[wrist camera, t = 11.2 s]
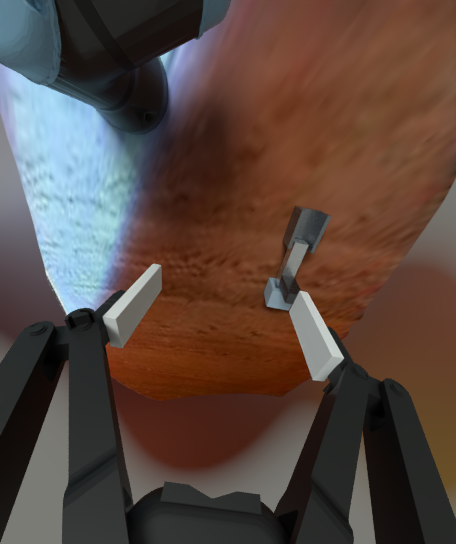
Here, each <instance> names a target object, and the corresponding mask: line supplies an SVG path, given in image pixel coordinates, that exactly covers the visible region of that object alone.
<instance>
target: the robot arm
mask: <svg viewBox="0 0 456 544" xmlns="http://www.w3.org/2000/svg"><path fill="white" fill-rule="evenodd" d="M230 2H231V0H0V63H1V64H3V65H4V66H6V67H8V68H10V69H12V70H14V71H16V72H18V73H20V74H22V75H23V76H24V77H26V78H27V79H29V80H30V81H32V82H34V83H36V84H39V85H44V86H46V87H49V88H51V89H53V90H56V91H58V92H60V93H63V94H65V95H68V96H70V97H72V98H75V99H77V100H79V101H82V102H84V103H86V104H88V105H91V106H93V107H94V108H95V109H96V110H97V111H98V112H99V113H100V114H101V115H102V116H103V117H104V118H105V119H106V120H107V121H108V122H109V123H111V124H112V125H113V126H115V127H117V128H119V129H121V130H123V131H126V132H129V133H132V134H145V133H148V132H150V131H152V130H153V129H154V128H155V127H157V125H158V124H159V123H160V121H161V120H162V118H163V116H164V113H165V110H166V106H167V99H168V86H167V79H166V74H165V70H164V66H163V64H162V61H161V58H160V56H161V55H163V54H165V53H167V52H169V51H171V50H173V49H175V48H177V47H178V46H180V45H182V44H184V43H186V42H188V41H190V40H192V39H194V38H195V39H196V40H197V39H200V37H201V36H202V35H203V33H204V32H206V31H207V30H209V29H211V28H212V27H214V26H215V25H217V24H219V23H220V22H221V21H222V20H223V19H224V17H225V15H226V13H227V11H228V9H229V6H230ZM161 290H162V274H161V265H158V264H152V265H151V266H150V267H149V268H148V269H147V270H146V271H145V273H144V274H143V275H142V276H141V277H140V278H139V279H138V280H137V281H136V282H135V283H134V284H133V285H132V286H131V287H130V288H129V289H128V290H127V291H123V290H120V291H118V292H116V293H114V294H113V295H112V296H111V297H110V298H109V299H108V300H107V301H105V303H103V304H102V305H101V306H100V307H99V308H98V309H97V310H96V311H95V312H94V310H92V309H90V308H82V309H78V310H75V311H73V312H71V313H69V314H68V315H67V316H66V318H65V322H66V324H67V326H60V327H55V326H54V324H53V323H52V322H49V321H42V322H38V323H35V324H32V325H30V326H29V327H27V328H25V329H24V330H23V331H22V332H21V333H20V335H19V336H18V338H17V339H16V341H15V342H14V344H13V345H12V347H11V348H10V350H9V351H8V353H7V354H6V356H5V358H4V359H3V360H2V362H1V363H0V542H1V539H2V536H3V533H4V531H5V528H6V525H7V522H8V520H9V517H10V514H11V511H12V508H13V506H14V503H15V500H16V497H17V495H18V492H19V489H20V486H21V483H22V481H23V478H24V475H25V472H26V470H27V467H28V464H29V461H30V458H31V455H32V453H33V450H34V447H35V444H36V442H37V439H38V436H39V433H40V431H41V428H42V425H43V422H44V420H45V417H46V414H47V411H48V408H49V405H50V403H51V400H52V397H53V395H54V392H55V389H56V386H57V383H58V381H59V378H60V375H61V372H62V370H63V367H64V364H65V361H66V360H69V481H68V486H67V489H66V491H65V494H64V499H63V519H62V520H63V521H62V522H63V523H62V544H353V542H354V537H353V531H352V528H351V526H350V525H349V520H348V519H349V510H350V504H351V498H352V492H353V485H354V480H355V473H356V467H357V461H358V454H359V448H360V442H361V436H362V430H363V437H364V445H365V454H366V462H367V471H368V479H369V488H370V497H371V506H372V514H373V523H374V530H375V531H374V532H375V540H376V544H456V518H455V516H454V513H453V511H452V508H451V505H450V502H449V499H448V497H447V494H446V491H445V489H444V486H443V483H442V480H441V478H440V475H439V472H438V470H437V467H436V464H435V461H434V459H433V456H432V454H431V451H430V448H429V445H428V443H427V440H426V437H425V434H424V432H423V429H422V426H421V424H420V421H419V418H418V415H417V413H416V410H415V407H414V405H413V402H412V399H411V397H410V395H409V393H408V392H407V390H406V389H405V388H404V387H403V386H402V385H400V384H399V383H398V382H396V381H394V380H392V379H388V378H386V379H385V380H384V381H382V382H381V381H379V380H377V379H374V378H373V377H370V376H369V375H368V373H367V372H366V371H365V370H364V369H363V368H362V367H361V366H359V365H358V364H356V363H354V362H353V360H352V359H351V357H350V355H349V354H348V352H347V350H346V349H345V347H344V345H343V344H342V342H341V340H340V338H339V337H338V335H337V333H336V332H335V331H334V330H333V329H332V328H331V327H327V326H326V325H325V323H324V321H323V319H322V318H321V316H320V314H319V312H318V310H317V309H316V307H315V305H314V303H313V301H312V300H311V298H310V296H309V294H308V292H303V291H299V293H298V295H297V297H296V299H295V301H294V303H293V305H292V307H291V309H290V311H289V313H290V316H291V319H292V322H293V324H294V327H295V330H296V333H297V336H298V339H299V342H300V345H301V347H302V350H303V353H304V356H305V359H306V362H307V365H308V367H309V370H310V373H311V376H312V379H313V380H317V381H324V380H325V379H326V378H327V377H328V379H329V381H330V383H329V384H328V385H327V386H326V387H325V388H324V390H323V391H324V392H325V394H324V396H323V398H322V401H321V403H320V406H319V409H318V412H317V414H316V416H315V419H314V421H313V424H312V426H311V429H310V431H309V434H308V437H307V439H306V442H305V444H304V447H303V449H302V452H301V454H300V457H299V459H298V462H297V464H296V467H295V469H294V472H293V475H292V477H291V480H290V482H289V485H288V487H287V490H286V491H285V493H284V495H283V496H282V498H281V499H280V501H279V503H278V505H277V507H276V509H275V511H274V513H273V512H272V511H271V510H270V509H269V508H268V507H267V506H266V505H265V504H264V503H262V502H261V501H260V495H259V494H252V493H244V492H234V493H230V494H227V495H224V496H221V497H217V498H214V499H213V498H209V497H208V496H206V495H205V494H203V493H201V492H200V491H198V490H196V489H195V488H193V487H191V486H190V485H186V484H179V483H172V482H165V483H164V487H160V488H158V489H155V490H153V491H151V492H150V493H148V494H147V495H145V496H144V497H143V498H141V499H140V500H139V501H138V502H137V503H136V504H135V505H133V499H132V493H131V488H130V482H129V478H128V474H127V469H126V464H125V458H124V452H123V447H122V441H121V435H120V429H119V423H118V417H117V411H116V405H115V400H114V394H113V388H112V382H111V376H110V370H109V364H108V358H107V353H106V348H105V346H106V344H107V343H108V342H110V345H111V346H112V347H118V348H123V346H124V345H125V343H126V342H127V340H128V339H129V337H130V336H131V334H132V333H133V331H134V330H135V328H136V327H137V326H138V324H139V323H140V321H141V320H142V318H143V317H144V315H145V314H146V312H147V311H148V309H149V308H150V306H151V305H152V303H153V302H154V300H155V299H156V297H157V296H158V294H159V293H160V291H161Z"/></svg>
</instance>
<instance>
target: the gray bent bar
mask: <svg viewBox="0 0 456 544" xmlns="http://www.w3.org/2000/svg"><path fill="white" fill-rule="evenodd" d="M308 246H309V245H308V244H307V243H306V242H305V241H304V240H300V239H294V242H293V244H292V247H291V249H287V251H286V254H285V256H284V259H283V262H282V264H281V267H280V269H279V272H278V274H277V277H276V280H275V282H274V284H275V288H279V289H280V290H281V293H282V296H283V299H284V302H285V303H288V304H293V303H294V301H295V299H296V297H297V295H298V293H299V291H301V290H300V288H299V286H298V284H297V282H296V280H295V278H294V277H295V275H296V272H297V270H298V268H299V266H300V264H301V261H302V259H303V257H304V255H305V253H306V250H307V248H308Z"/></svg>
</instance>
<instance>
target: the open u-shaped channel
mask: <svg viewBox="0 0 456 544" xmlns="http://www.w3.org/2000/svg"><path fill="white" fill-rule="evenodd" d="M330 218H331V216H330V215H328V214H326V213H324V212H322V211H317V210H312V209H307V208H303V207H298V206H295V208H294V211H293V214H292V216H291V219H290V222H289V225H288V228H287V230H286V233H285V236H284V239H283V242H284V243H285V245H286V247H287V248H288V249H291V247H292V244H293V242H294V239H300V240H304V241H305V242H306V243H307V244H308V245H309V246H308V248H307V249H308V251H309V252H310V253H314V252H315V250H316V248H317V245H318V243H319V241H320V239H321V237H322V235H323V233H324V231H325V229H326V227H327V225H328V223H329V221H330Z"/></svg>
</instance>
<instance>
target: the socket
mask: <svg viewBox="0 0 456 544" xmlns="http://www.w3.org/2000/svg"><path fill="white" fill-rule="evenodd" d="M275 280H276V278H270V277H269V280H268V283H267V285H266V288H265V291H264V296H265V301H266V306H267V307H272V308H278V309H283V310H289V308H290V306H291V304H288V303H285V302H284V299H283V296H282V293H281V290H280V289H279V288H275V284H274V282H275Z"/></svg>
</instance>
